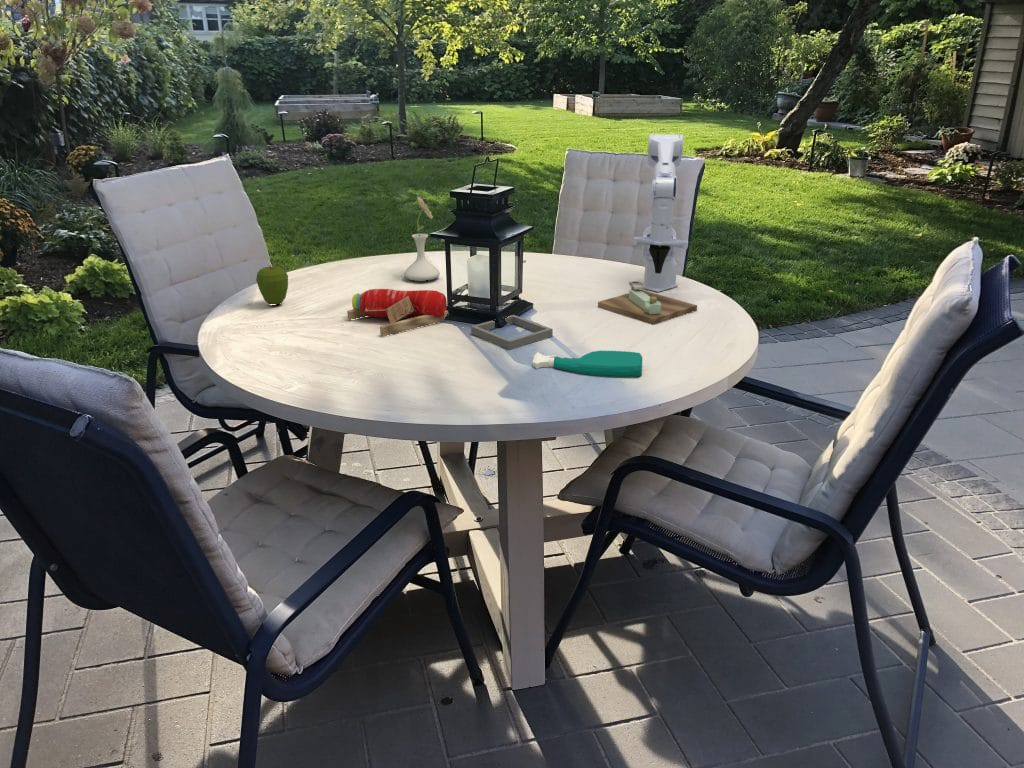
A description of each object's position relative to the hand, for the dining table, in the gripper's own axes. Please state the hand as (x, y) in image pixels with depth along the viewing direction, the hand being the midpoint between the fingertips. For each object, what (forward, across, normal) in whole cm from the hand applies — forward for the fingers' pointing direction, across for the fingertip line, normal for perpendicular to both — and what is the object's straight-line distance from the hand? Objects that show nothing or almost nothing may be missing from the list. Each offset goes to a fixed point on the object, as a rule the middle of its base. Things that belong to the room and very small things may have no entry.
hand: (658, 272), depth 213 cm
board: (+9, -2, -4) cm, 10 cm away
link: (+8, -2, -8) cm, 11 cm away
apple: (+9, -100, -38) cm, 107 cm away
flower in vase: (+10, -74, +2) cm, 75 cm away
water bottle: (+9, -61, -37) cm, 72 cm away
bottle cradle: (+9, -61, -37) cm, 72 cm away
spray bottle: (+10, -5, -51) cm, 52 cm away
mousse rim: (+9, -29, -38) cm, 48 cm away
